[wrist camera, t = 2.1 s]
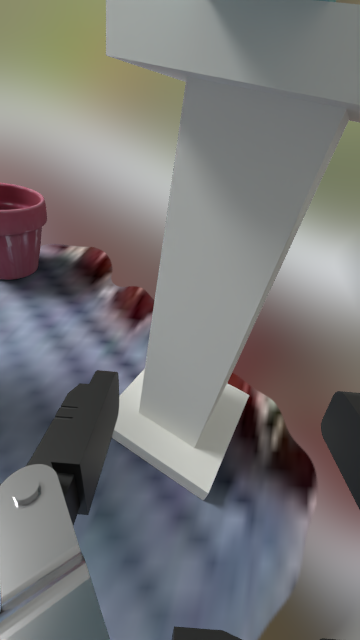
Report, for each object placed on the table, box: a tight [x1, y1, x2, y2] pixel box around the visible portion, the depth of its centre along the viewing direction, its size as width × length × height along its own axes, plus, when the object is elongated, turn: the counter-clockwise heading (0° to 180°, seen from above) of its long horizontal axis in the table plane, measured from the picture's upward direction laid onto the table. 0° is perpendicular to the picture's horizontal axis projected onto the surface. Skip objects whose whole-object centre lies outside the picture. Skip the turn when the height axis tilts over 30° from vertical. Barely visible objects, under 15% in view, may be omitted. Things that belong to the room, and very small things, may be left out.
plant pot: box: [0, 183, 47, 280], centre depth 46 cm, size 14×14×13 cm
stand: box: [106, 0, 360, 501], centre depth 23 cm, size 13×13×32 cm
